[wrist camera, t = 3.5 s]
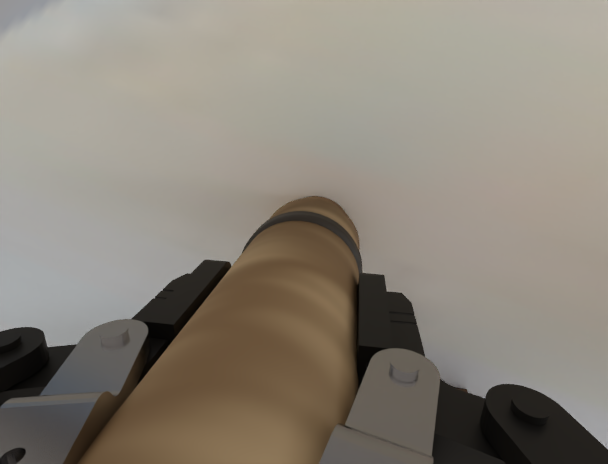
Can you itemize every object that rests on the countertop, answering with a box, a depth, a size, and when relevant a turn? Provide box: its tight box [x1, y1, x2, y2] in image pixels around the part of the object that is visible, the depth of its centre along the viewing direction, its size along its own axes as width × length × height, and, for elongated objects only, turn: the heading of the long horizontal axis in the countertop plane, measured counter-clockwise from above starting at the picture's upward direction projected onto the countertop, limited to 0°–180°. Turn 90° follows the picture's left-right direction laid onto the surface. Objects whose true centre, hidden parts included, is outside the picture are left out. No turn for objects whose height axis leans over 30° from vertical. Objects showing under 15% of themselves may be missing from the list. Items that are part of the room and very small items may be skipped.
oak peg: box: [77, 196, 362, 464], centre depth 11 cm, size 4×4×14 cm
